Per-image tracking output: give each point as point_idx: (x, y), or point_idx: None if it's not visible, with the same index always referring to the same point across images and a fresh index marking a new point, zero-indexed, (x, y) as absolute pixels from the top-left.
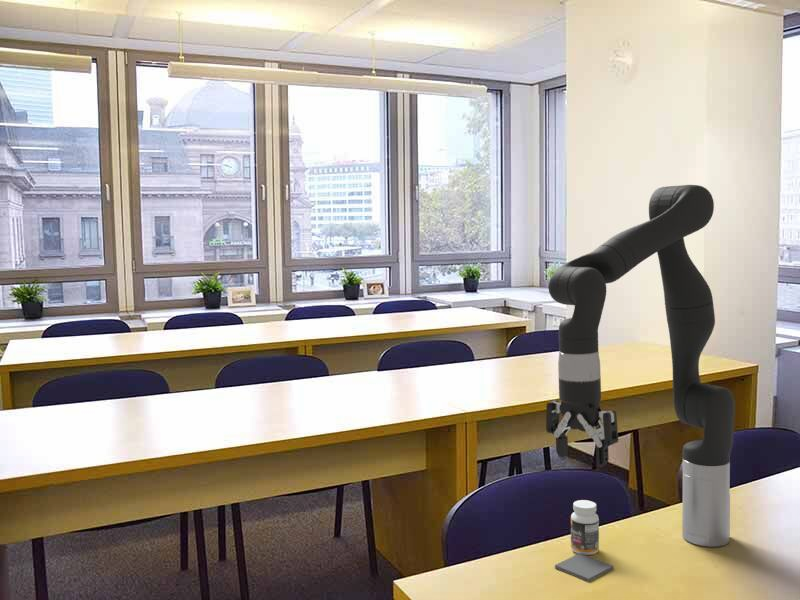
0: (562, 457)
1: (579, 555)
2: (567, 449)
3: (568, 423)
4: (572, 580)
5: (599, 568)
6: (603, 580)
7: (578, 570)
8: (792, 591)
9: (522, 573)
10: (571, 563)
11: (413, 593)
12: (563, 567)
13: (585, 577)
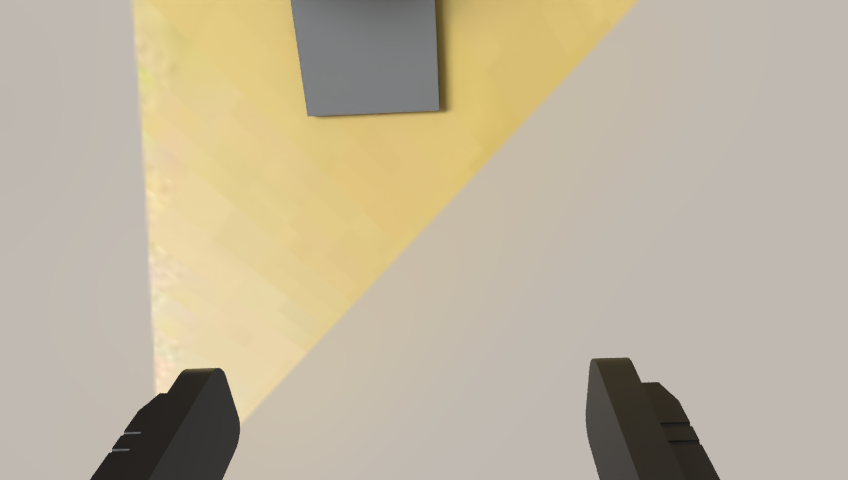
0: (237, 417)
1: None
2: (198, 402)
3: None
4: (401, 137)
5: (414, 20)
6: (463, 63)
7: (380, 89)
8: None
9: (282, 210)
10: (330, 65)
11: None
12: (336, 109)
13: (426, 110)
